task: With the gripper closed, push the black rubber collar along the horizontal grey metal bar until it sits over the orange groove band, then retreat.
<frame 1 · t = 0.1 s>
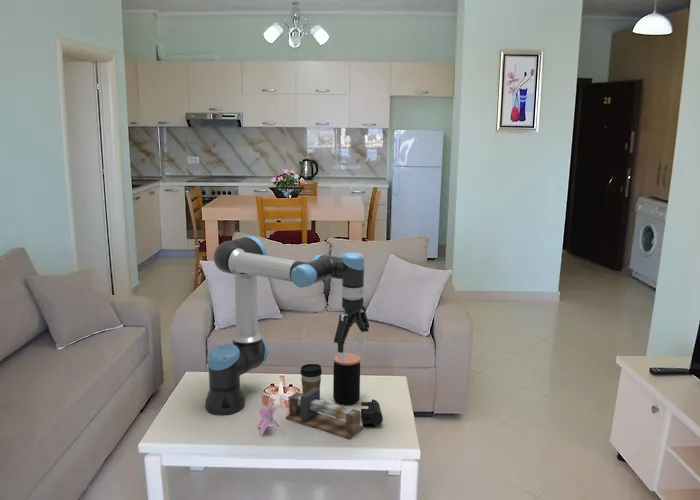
hand: (351, 354, 216), 28 cm above the table, fingers open, 13 cm apart
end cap: (371, 422, 225), on the table
lily: (267, 429, 218), on the table
collar: (310, 403, 224), point 6 cm above the table, slide at -6.0 cm
pipe stand: (323, 423, 222), on the table
coffee cup: (311, 402, 240), on the table
coffee jar: (346, 400, 242), on the table
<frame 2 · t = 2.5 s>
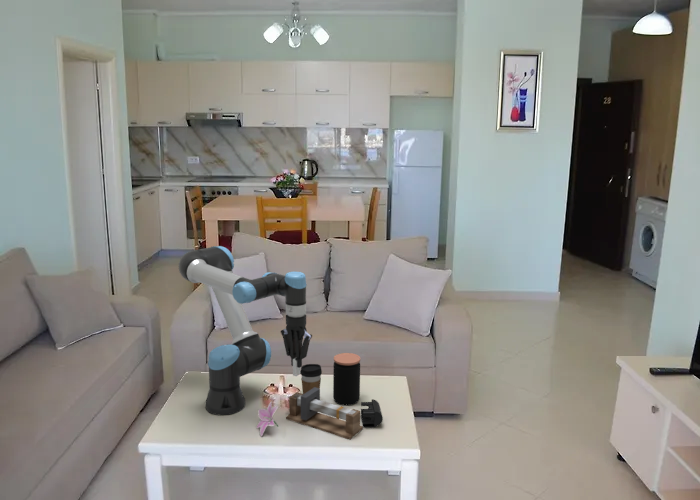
hand: (296, 374, 225), 17 cm above the table, fingers closed
nothing on the table moved.
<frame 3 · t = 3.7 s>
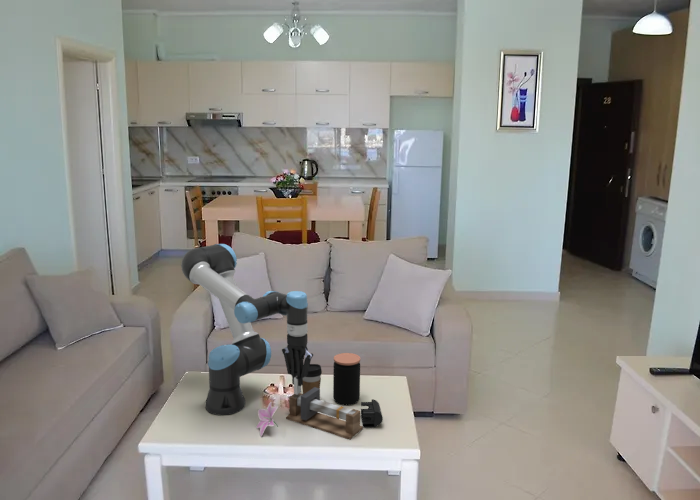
hand: (297, 392, 226), 9 cm above the table, fingers closed
nothing on the table moved.
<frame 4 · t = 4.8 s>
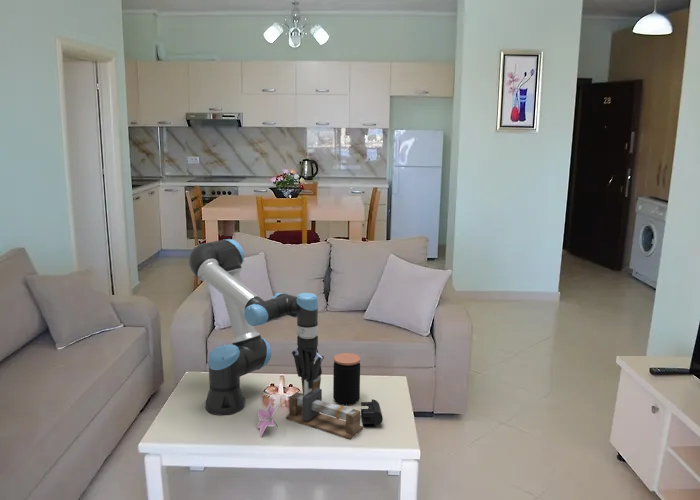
hand: (307, 395, 224), 9 cm above the table, fingers closed
collar: (312, 404, 224), point 6 cm above the table, slide at -5.2 cm, touching gripper
everything else where it was.
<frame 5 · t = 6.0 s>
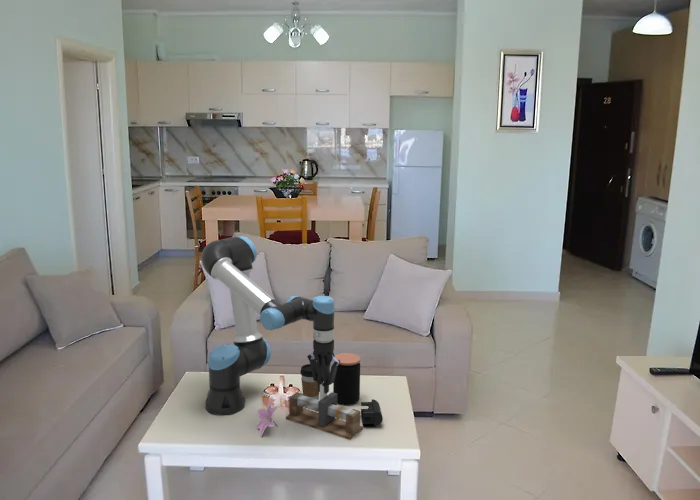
hand: (323, 400, 220), 9 cm above the table, fingers closed
collar: (327, 408, 220), point 6 cm above the table, slide at 1.8 cm, touching gripper
everything else where it was.
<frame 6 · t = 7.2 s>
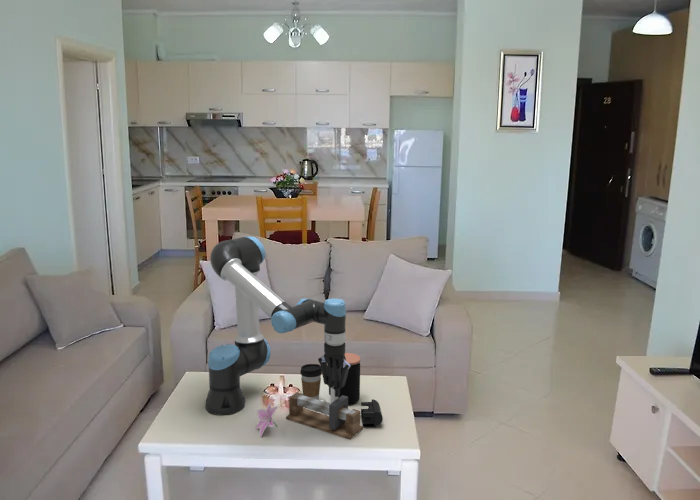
hand: (334, 403, 218), 9 cm above the table, fingers closed
collar: (338, 412, 218), point 6 cm above the table, slide at 6.4 cm, touching gripper
everything else where it was.
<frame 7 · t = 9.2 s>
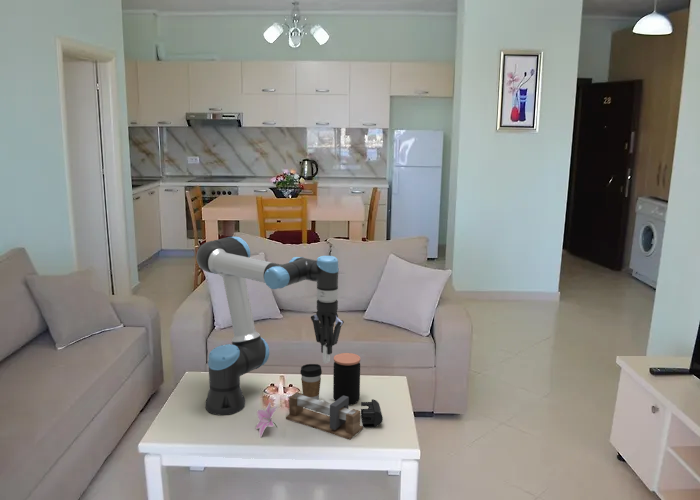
hand: (326, 361, 219), 24 cm above the table, fingers closed
collar: (339, 412, 218), point 6 cm above the table, slide at 6.7 cm
everything else where it was.
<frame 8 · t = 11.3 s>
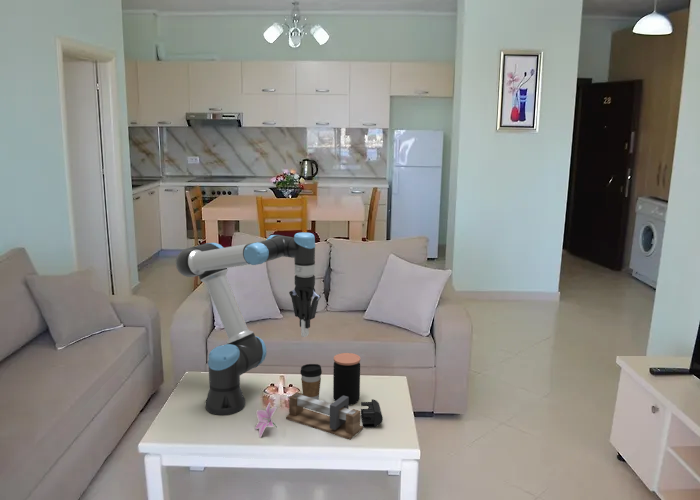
hand: (304, 335, 226), 30 cm above the table, fingers closed
at the end: collar slide at 6.7 cm; collar touching nothing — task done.
